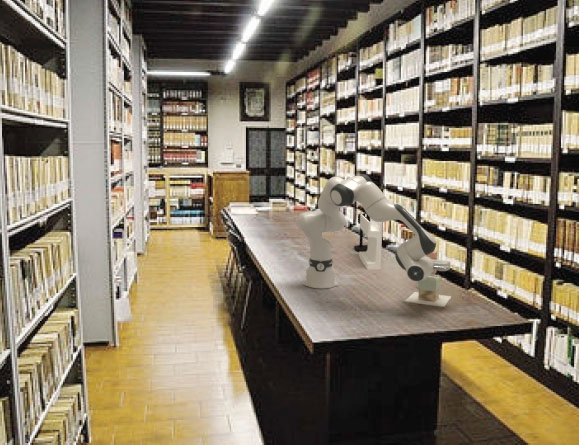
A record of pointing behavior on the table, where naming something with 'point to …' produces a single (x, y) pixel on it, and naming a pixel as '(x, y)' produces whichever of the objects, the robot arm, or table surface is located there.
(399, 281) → the table surface
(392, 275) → the table surface
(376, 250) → the white stand
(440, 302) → the felt pad
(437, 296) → the wooden block
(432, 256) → the terracotta block
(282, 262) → the table surface
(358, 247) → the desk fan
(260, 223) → the table surface
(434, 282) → the sage slab
